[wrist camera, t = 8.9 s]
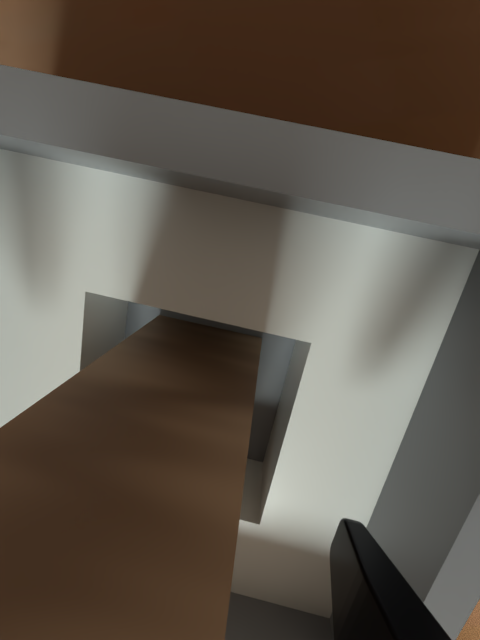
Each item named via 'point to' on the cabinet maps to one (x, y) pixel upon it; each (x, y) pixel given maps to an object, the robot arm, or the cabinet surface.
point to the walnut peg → (129, 491)
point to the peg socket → (265, 317)
